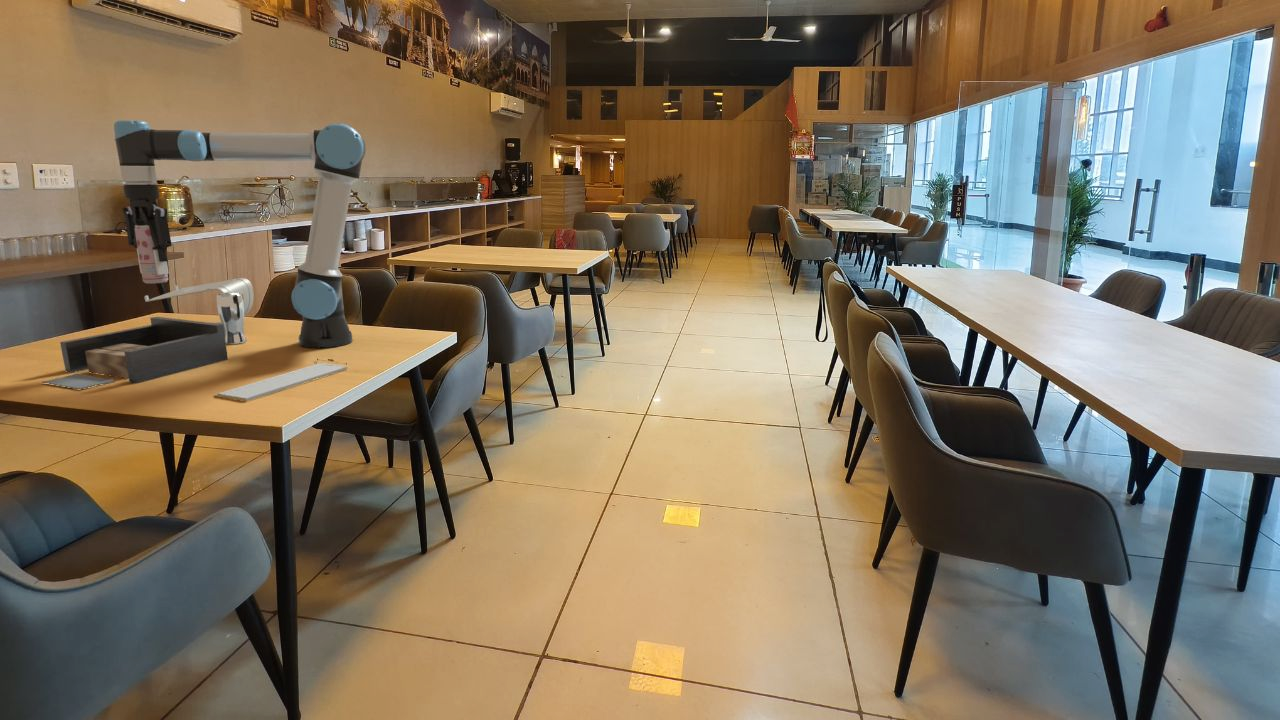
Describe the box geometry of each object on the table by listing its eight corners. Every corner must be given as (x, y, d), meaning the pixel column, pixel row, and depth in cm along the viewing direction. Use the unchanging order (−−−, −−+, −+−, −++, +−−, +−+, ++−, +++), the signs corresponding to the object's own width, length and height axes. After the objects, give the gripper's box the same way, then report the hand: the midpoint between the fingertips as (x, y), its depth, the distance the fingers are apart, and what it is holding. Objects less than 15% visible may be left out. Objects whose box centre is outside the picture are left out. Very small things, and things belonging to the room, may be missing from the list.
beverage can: (148, 284, 190) (138, 226, 186) (139, 282, 193) (130, 224, 189) (172, 281, 194) (163, 224, 191) (163, 279, 198) (154, 223, 194)
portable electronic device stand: (231, 337, 228) (224, 288, 224) (148, 339, 224) (140, 289, 220) (258, 321, 253) (252, 277, 249) (184, 323, 249) (177, 278, 245)
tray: (227, 359, 202) (223, 324, 199) (135, 383, 178) (128, 344, 176) (162, 350, 211) (157, 316, 208) (65, 372, 187) (58, 334, 185)
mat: (114, 381, 180) (114, 380, 179) (80, 390, 172) (79, 388, 172) (77, 375, 184) (76, 373, 184) (42, 383, 177) (41, 381, 177)
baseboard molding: (209, 397, 170) (247, 404, 166) (208, 386, 169) (245, 392, 165) (313, 366, 198) (347, 372, 194) (312, 356, 197) (347, 361, 193)
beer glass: (252, 341, 223) (246, 293, 219) (230, 346, 217) (223, 296, 213) (240, 338, 227) (234, 291, 223) (217, 343, 221) (210, 294, 217)
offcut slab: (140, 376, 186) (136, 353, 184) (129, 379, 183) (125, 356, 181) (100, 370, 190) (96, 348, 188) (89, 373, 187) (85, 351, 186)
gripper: (179, 183, 187) (192, 273, 193) (130, 182, 194) (144, 269, 200) (151, 184, 181) (165, 277, 187) (101, 183, 187) (116, 273, 193)
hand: (154, 273), depth 193 cm, fingers closed on beverage can, 6 cm apart
